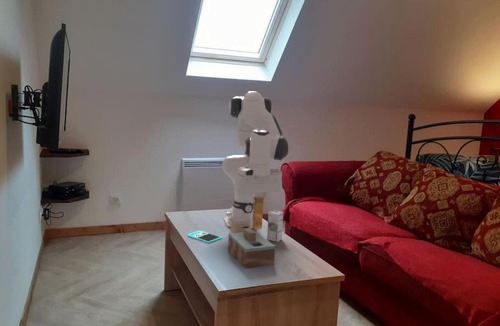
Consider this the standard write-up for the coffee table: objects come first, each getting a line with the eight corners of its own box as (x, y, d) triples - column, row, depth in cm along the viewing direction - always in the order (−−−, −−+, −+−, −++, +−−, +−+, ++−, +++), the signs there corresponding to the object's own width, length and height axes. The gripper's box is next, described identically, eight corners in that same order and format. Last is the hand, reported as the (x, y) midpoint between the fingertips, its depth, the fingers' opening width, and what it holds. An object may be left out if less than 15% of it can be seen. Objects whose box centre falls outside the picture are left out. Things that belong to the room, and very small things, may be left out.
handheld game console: (199, 232, 214) (199, 229, 213) (222, 239, 204) (222, 236, 204) (185, 236, 206) (185, 234, 206) (209, 244, 196) (209, 241, 196)
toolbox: (228, 253, 185) (228, 236, 184) (254, 250, 190) (255, 233, 189) (245, 270, 167) (246, 252, 166) (273, 266, 172) (274, 248, 171)
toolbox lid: (228, 236, 184) (229, 226, 183) (255, 233, 189) (255, 223, 188) (246, 252, 166) (246, 240, 165) (274, 248, 171) (275, 237, 170)
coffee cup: (247, 246, 194) (248, 222, 193) (228, 244, 196) (228, 220, 194) (251, 240, 203) (252, 216, 202) (232, 238, 205) (233, 214, 203)
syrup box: (282, 239, 206) (283, 211, 204) (276, 242, 201) (278, 214, 199) (272, 237, 209) (273, 209, 207) (266, 240, 204) (268, 212, 202)
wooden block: (252, 226, 171) (253, 196, 169) (258, 226, 172) (260, 196, 170) (255, 229, 168) (256, 198, 166) (261, 228, 170) (263, 197, 168)
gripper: (278, 167, 174) (277, 199, 176) (233, 169, 165) (232, 202, 168) (285, 170, 168) (284, 203, 170) (239, 172, 160) (238, 206, 162)
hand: (258, 202), depth 169 cm, fingers closed on wooden block, 3 cm apart
